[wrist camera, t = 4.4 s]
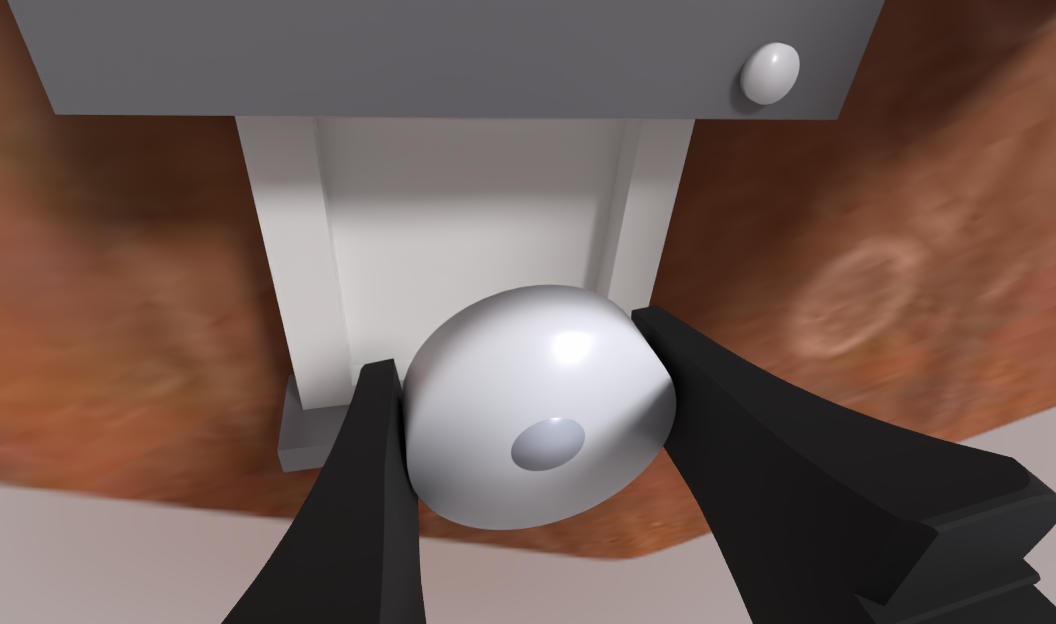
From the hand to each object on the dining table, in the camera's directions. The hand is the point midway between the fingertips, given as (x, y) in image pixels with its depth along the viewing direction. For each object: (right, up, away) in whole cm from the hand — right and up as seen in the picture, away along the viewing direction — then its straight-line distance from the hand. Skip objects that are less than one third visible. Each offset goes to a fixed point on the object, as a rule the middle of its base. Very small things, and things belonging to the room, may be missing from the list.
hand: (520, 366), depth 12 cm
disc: (0, 0, -1) cm, 1 cm away
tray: (-2, +3, +5) cm, 6 cm away
